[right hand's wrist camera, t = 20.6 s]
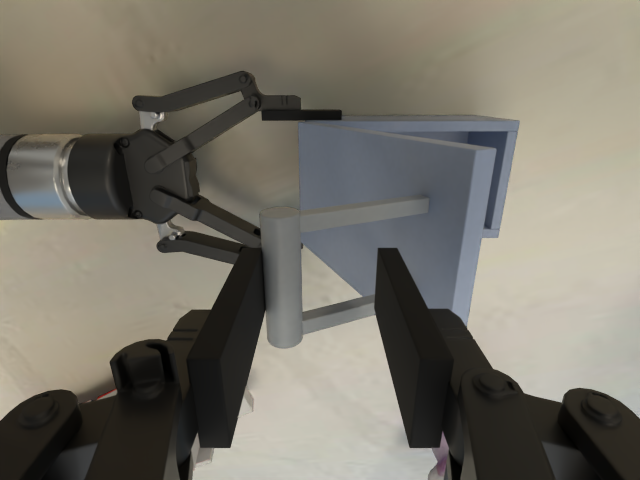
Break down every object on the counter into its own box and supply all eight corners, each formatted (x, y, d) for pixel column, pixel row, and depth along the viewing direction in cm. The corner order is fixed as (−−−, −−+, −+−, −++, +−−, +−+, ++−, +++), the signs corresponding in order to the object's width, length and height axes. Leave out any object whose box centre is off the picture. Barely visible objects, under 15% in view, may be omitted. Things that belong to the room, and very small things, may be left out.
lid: (497, 147, 14) (280, 165, 11) (461, 361, 18) (290, 425, 14) (310, 121, 29) (195, 125, 25) (312, 240, 32) (211, 257, 29)
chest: (475, 115, 37) (520, 120, 29) (462, 209, 41) (498, 238, 33) (307, 115, 37) (304, 121, 29) (308, 210, 41) (306, 238, 33)
